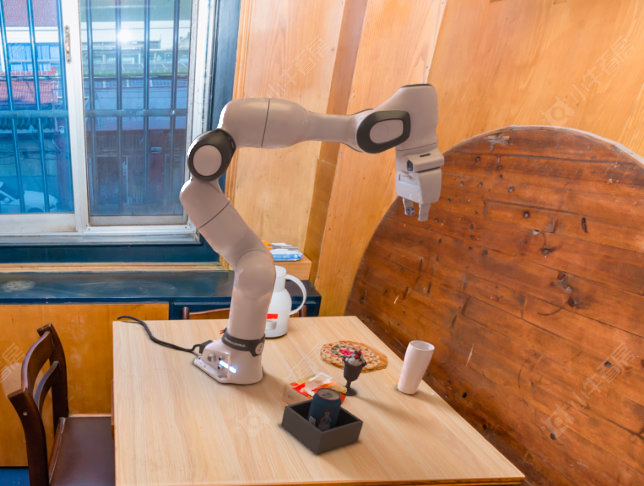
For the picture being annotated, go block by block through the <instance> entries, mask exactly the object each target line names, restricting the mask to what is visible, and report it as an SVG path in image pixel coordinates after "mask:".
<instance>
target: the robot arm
mask: <svg viewBox="0 0 644 486" xmlns="http://www.w3.org/2000/svg"><path fill="white" fill-rule="evenodd" d="M438 123H439V99H438V92H437V89H436V87H435V86H434V85H433V84H432V83H413V84H406V85H402V86H400V87H399V88H398V89H397V91H395V92H394V93H393V94H392V95H391V96H390V97H389V98H388V99H386V100H385V101H384V102H382V103H380V104H379V105H377V106H376V107H374V108H366V109H362V110H360V111H357V112H355V113H352V114H333V113H322V112H321V113H319V112H314V111H311V110H310V109H309V110H308V109H306V108H305V107H304V106H302V105H301V104H299V103H297V102H294V101H292V100H287V99H282V98H277V97H276V98H275V97H263V96H262V97H260V96H259V97H258V96H257V97H256V96H255V97H242V98H236V99H232V100H229V101H228V102H227V103H225V105H224V107H223V108H222V110H221V112H220V115H219V121H218V124H217V127H216V128H215V129H211V130H205V131H204V132H201V133H200V134H198V135H197V136H196V137H194V139H193V140H192V142H191V144H190V145H189V148H188V150H187V153H186V166H187V168H188V169H187V170H188V171H189V173H190V174H191V176H190V177H189V179H188V180H186V182H185V183H184V184H183V186H182V187H181V189H180V192H179V195H178V196H179V197H178V198H179V202H180V204H181V206H182V208H183V210H184V211H185V213H186V215H187V217H188V218H189V220H190V221H191V223H192V224H193V226H194V227H195V228H196V229H197V231H198V232H199V233H200V235H201V236H202V238H203V239H204V240H205V241H206V242H207V244H208V245H209V246H210V247H211V248H212V250H213V251H214V252H215V253H217V254H218V255H219V256H220V257H221V258H222V259H224V261H225V262H226V263H227V264H228V265H229V266H230V267H231V268H232V270H233V272H234V276H233V277H234V278H233V286H232V293H231V298H230V299H231V300H230V306H229V314H228V322H227V327H224V328H223V329H221V330H219V335H222V336H221V337H220V338H217V339H215V340H211V339H209V340H206V341H204V342H201V343H195V344H193V346H192V347H191V348H186V347H185V348H184V347H182V346H179V345H176V344H173V343H171V342H166V341H164V340H160V339H158V338H156V337H155V336H154V335H153V334H152V332H151V330H150V328H149V326H148V325H147V324H146V322H145V321H143V320H141V319H139V318H137V317H134V316H131V315H127V314H125V315H119V316H118V317H116V320H118V321H119V320H122V319H129V320H132V321H134V322H137V323H140V324H141V325H143V327H144V329H145V331H146V333H147V335H148V336H149V337H150V339H151V340H152V341H154V342H155V343H158V344H161V345H164V346H167V347H170V348H174V349H176V350H179V351H184V352H187V353H191V352H194V351H195V349H196V348H198V354H199V355H198V356H197V357H196V358H195V359H194V360H193V364H194V365H195V366H196V367H197V368H199V369H200V370H202V371H203V372H204V373H206V374H207V375H209V376H210V377H211V378H212V379H214V380H216V381H217V382H218V383H220V384H236V385H237V384H238V385H251V384H256V383H258V382H260V381H262V380H263V377H264V374H263V363H262V362H263V360H262V359H263V352H264V347H265V342H266V327H267V321H268V315H269V310H270V305H271V302H272V298H273V294H274V290H275V286H276V280H277V270H276V264H275V259H274V255H273V253H272V252H271V250H270V249H269V248H268V246H267V245H266V244H265V243H264V242H263V240H262V239H261V238H260V237H259V236H258V234H257V233H256V232H255V231H254V230H253V229H252V228H251V227H250V226H249V225H248V224H247V222H246V221H245V220H244V218H243V217H242V215H241V214H240V213H239V211H238V210H237V208H235V206H234V205H233V203H232V202H231V201H230V199H229V198H228V197H227V195H226V194H225V193H224V192H223V189H221V186H220V184H219V182H220V181H219V179H220V178H221V177H223V176H224V175H225V173H226V172H227V171H228V168H229V167H230V164H231V162H232V160H233V157H234V155H235V153H236V151H237V150H239V149H241V148H255V149H263V150H264V149H267V150H268V149H269V150H270V149H271V150H272V149H273V150H274V149H275V150H276V149H284V148H291V147H293V146H295V145H297V144H300V143H303V142H310V141H313V142H314V141H316V142H324V143H325V142H327V143H339V144H344V145H345V146H347V147H348V148H350V149H351V150H353V151H355V152H357V153H364V154H367V155H378V154H381V153H384V152H386V151H388V150H390V149H393V148H395V151H394V154H395V156H394V157H395V158H394V159H395V171H396V172H395V173H396V174H395V193H396V195H397V196H398V197H401V198H402V203H403V207H404V215H405V216H412V215H414V214H415V207H414V203H417V204H418V208H419V210H418V211H419V212H418V213H417V221H419V222H426V221H428V220H429V212H430V209H431V204H435V203H438V202H439V200H440V197H441V192H442V191H441V190H442V181H443V180H442V178H443V172H442V171H443V170H442V168H441V167H444V165H445V156H444V154H442V152H441V151H440V148H439V147H438V146H439V139H438V136H437V127H438Z"/></svg>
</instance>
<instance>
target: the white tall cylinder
mask: <svg viewBox="0 0 644 486" xmlns="http://www.w3.org/2000/svg"><path fill="white" fill-rule="evenodd" d="M434 352H435V346H434V345H433V344H431V343H429V342H426V341H423V340H411V341H410V342H409V343H408V345H407V348H406V351H405V353H404V358H403V362H402V365H401V371H400V376H399V380H398V383H397V389H398V391H399V392H401V393H403V394H406V395H413V394H415V393H417V392H418V389H419V386H420V385H421V382H422V380H423V378H424V376H425V373H426V371H427V369H428V367H429V366H430V363H431V361H432V359H433V355H434Z"/></svg>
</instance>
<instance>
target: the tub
mask: <svg viewBox="0 0 644 486" xmlns="http://www.w3.org/2000/svg"><path fill="white" fill-rule="evenodd" d="M311 402H312V398H311V399H307V400H303V401H298V402H296V403H292V404H287V405H285V406H284V409H283V414H282V419H281V423H280V426H281V427H282V428H283V429H284V430H285V431H287V432H288V433H289V434H291V436H293V437H294V438H295V439H297V440H298V441H299V442H300V443H302V444H303V445H304V446H305V447H307V448H308V449H309V450H310V451H311V452H313V453H314V454H316V455H320V454H322V453H327V452H329V451H333V450H336V449H338V448H342V447H344V446H345V447H346V446H348V445H351V444H354V443H357V442H358V441H359V437H360V434H361V431H362V428H363V425H364V421H363V420H362V419H360V418H359V417H358V416H356V415H355V414H353V413H352V412H350V411H349V410H347V409H346V408H344V407H343V406H341V407H340V410H339V414H338V418H337V422H336V425H335V428H333V429H330V430H326V431H323V432H322V431H321V430H319V429H318V428H317V427H315V426H314V425H313V424H311V423H310V422H309V421H307V419H308V415H309V411H310V407H311Z"/></svg>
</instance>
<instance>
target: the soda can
mask: <svg viewBox="0 0 644 486" xmlns="http://www.w3.org/2000/svg"><path fill="white" fill-rule="evenodd" d="M341 397H342V396H341V393H340V392H339V391H338V390H336V389H333V388H329V387H321V388H318V389H317V390H316V391H315V393H313V395H312V398H311V399H312V402H311V407H310V411H309V415H308V419H307V421H309V422H310V423H311V424H313V425H314V426H315V427H317V428H318V429H319V430H321V431H322V432H323V431H326V430H330V429H333V428H335V425H336V422H337V418H338V414H339V410H340V407H342V403H343V402H342V399H341Z"/></svg>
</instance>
